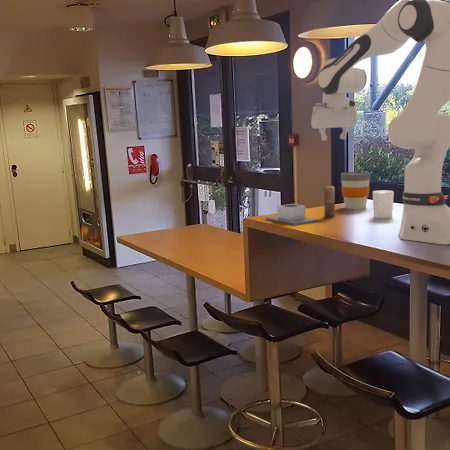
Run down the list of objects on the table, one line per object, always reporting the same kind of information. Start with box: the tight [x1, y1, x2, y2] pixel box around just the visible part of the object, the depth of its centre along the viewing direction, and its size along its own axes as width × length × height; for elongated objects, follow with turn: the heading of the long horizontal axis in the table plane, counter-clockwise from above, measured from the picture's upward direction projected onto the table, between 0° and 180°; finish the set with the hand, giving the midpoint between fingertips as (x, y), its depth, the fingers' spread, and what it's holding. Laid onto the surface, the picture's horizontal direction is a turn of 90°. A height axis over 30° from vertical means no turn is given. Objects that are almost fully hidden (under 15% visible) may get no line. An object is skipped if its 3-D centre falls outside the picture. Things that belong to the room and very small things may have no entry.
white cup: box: [372, 189, 395, 219], centre depth 216 cm, size 8×8×10 cm
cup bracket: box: [265, 203, 319, 226], centre depth 217 cm, size 18×12×6 cm, turn 32°
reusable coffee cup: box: [340, 171, 371, 210], centre depth 241 cm, size 13×13×15 cm
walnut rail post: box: [323, 185, 336, 219], centre depth 221 cm, size 4×4×12 cm
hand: (333, 139), depth 213 cm, fingers open, 8 cm apart
